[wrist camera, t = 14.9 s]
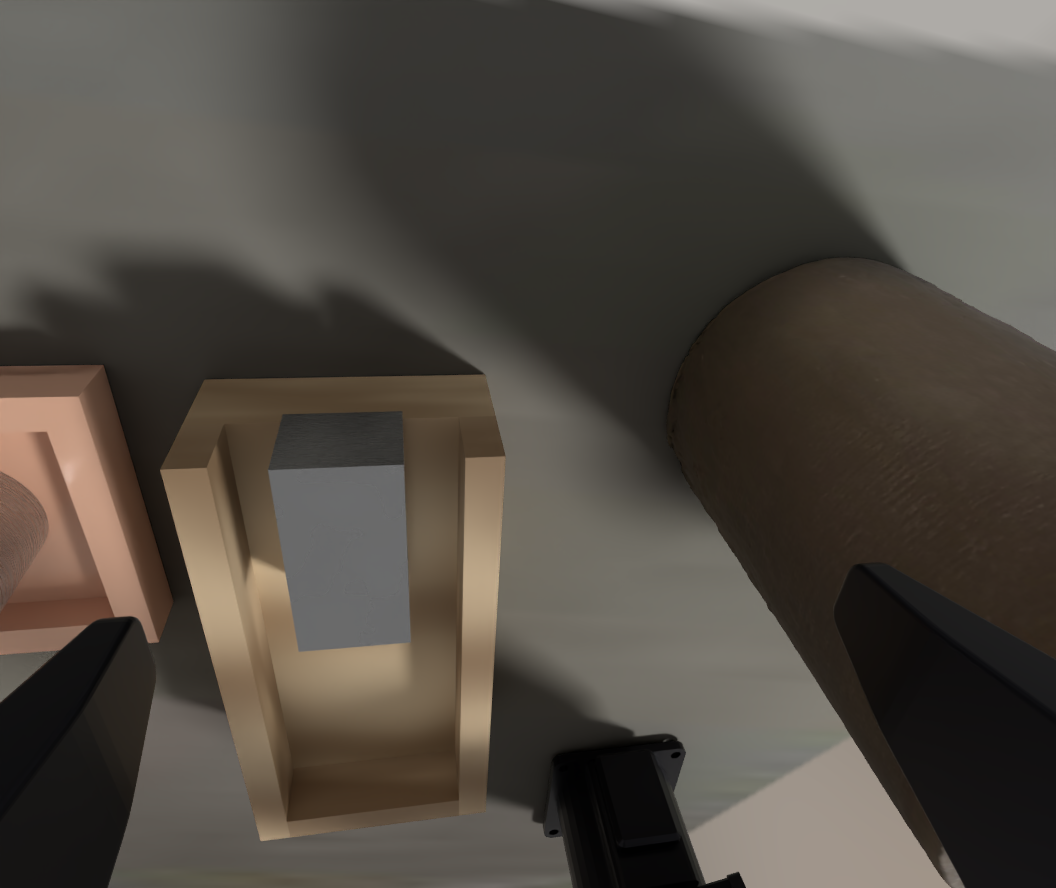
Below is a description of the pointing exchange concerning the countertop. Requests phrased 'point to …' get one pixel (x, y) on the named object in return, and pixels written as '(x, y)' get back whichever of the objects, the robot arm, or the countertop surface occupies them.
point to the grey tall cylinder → (18, 533)
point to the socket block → (359, 672)
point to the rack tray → (76, 510)
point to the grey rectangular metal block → (343, 527)
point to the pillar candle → (874, 464)
